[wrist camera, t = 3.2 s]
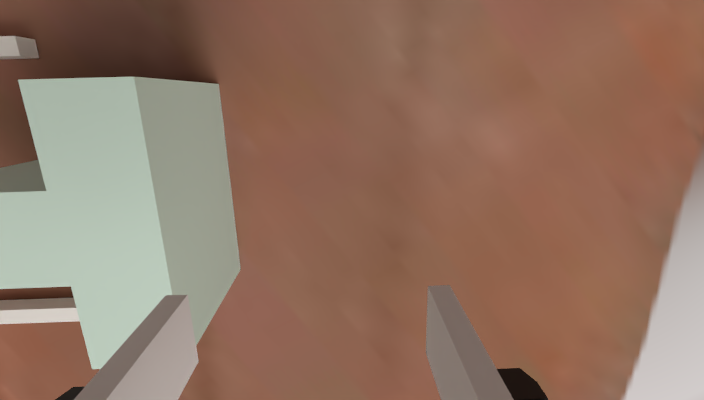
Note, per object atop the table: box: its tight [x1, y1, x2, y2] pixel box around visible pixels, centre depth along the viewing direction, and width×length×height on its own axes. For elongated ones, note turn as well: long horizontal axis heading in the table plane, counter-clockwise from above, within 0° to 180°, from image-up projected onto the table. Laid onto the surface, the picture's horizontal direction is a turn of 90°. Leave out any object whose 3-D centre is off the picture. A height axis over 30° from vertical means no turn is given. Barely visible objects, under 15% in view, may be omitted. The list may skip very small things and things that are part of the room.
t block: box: [0, 77, 241, 369], centre depth 29 cm, size 16×18×14 cm
